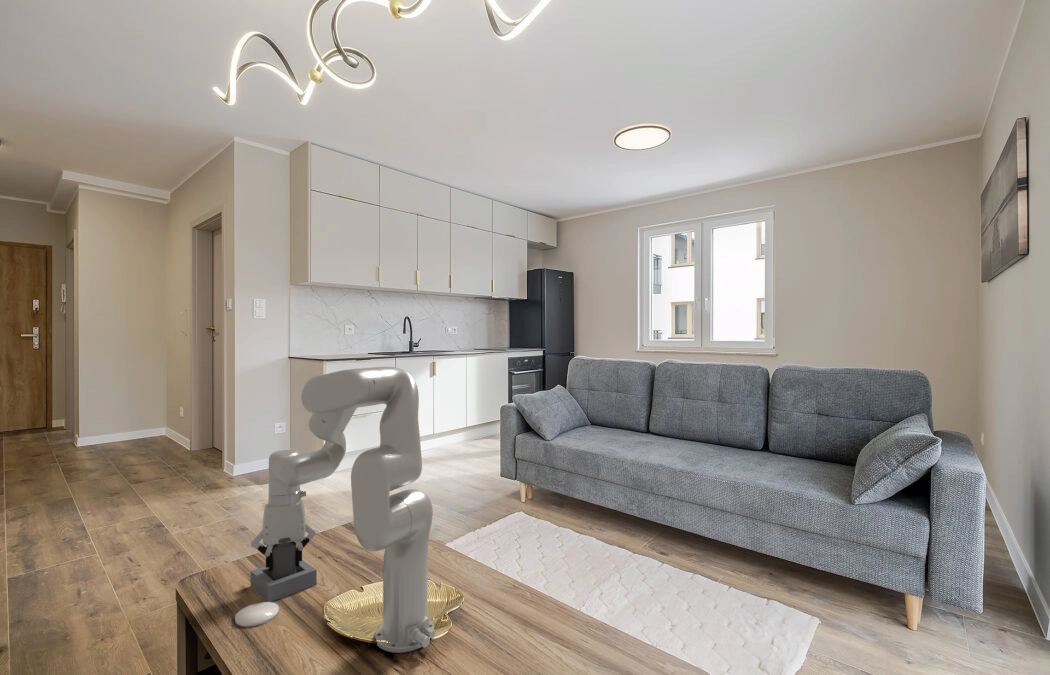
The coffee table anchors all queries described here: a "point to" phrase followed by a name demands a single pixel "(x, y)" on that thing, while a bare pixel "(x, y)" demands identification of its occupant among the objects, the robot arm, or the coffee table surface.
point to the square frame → (283, 581)
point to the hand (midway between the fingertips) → (284, 566)
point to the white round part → (256, 614)
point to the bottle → (283, 559)
